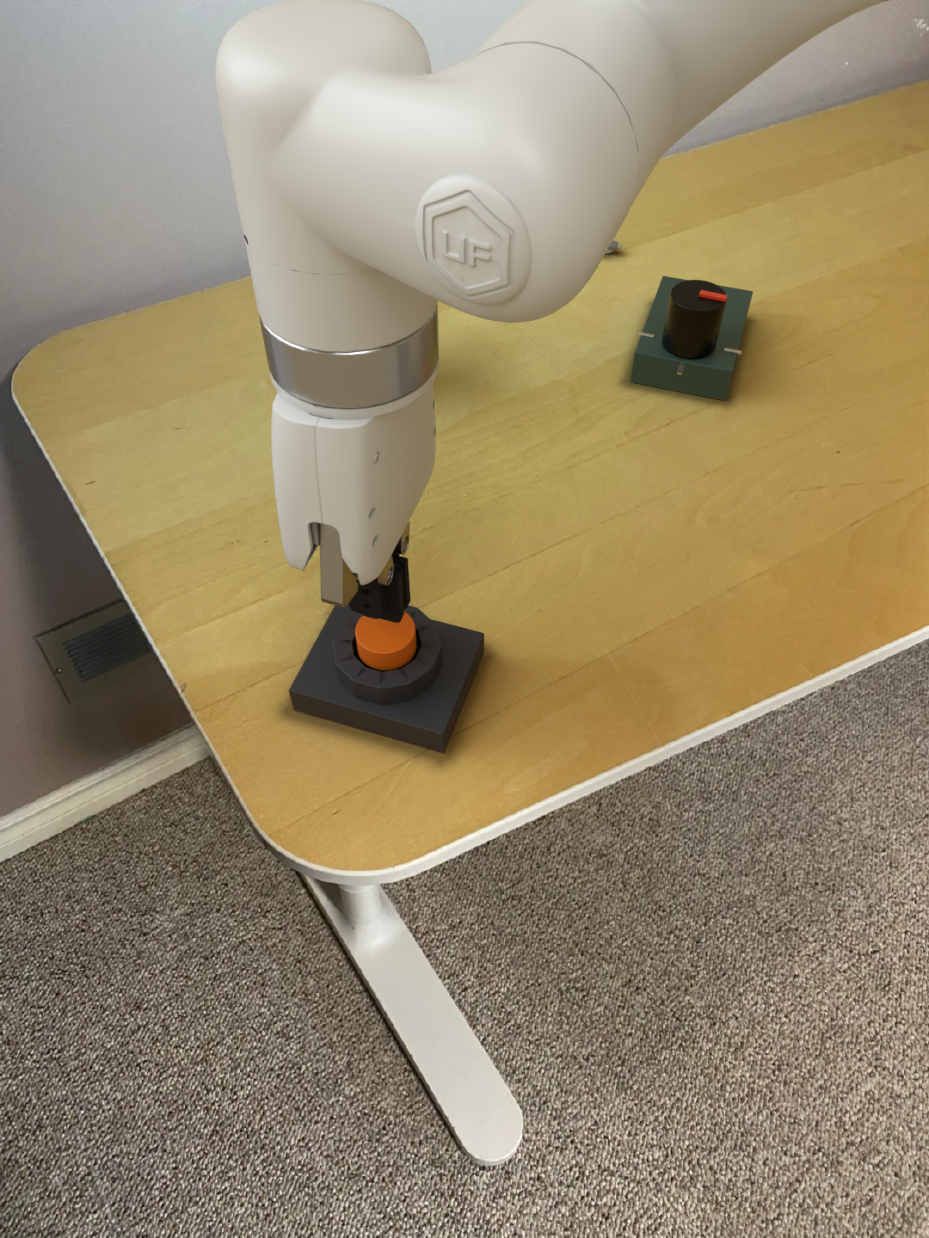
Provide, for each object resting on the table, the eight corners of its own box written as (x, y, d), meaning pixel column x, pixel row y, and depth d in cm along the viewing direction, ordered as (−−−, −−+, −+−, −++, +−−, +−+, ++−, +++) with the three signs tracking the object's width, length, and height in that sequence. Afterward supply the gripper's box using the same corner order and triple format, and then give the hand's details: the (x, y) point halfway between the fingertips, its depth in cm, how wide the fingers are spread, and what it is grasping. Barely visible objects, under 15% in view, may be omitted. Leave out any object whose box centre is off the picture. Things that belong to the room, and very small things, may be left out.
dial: (656, 353, 78) (665, 300, 75) (668, 323, 81) (678, 271, 77) (709, 364, 77) (721, 312, 74) (720, 334, 80) (733, 282, 76)
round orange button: (424, 632, 59) (423, 614, 58) (404, 677, 57) (402, 659, 56) (370, 618, 60) (368, 600, 59) (348, 662, 58) (345, 644, 57)
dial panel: (654, 304, 88) (659, 273, 86) (749, 321, 86) (757, 289, 84) (621, 394, 80) (626, 362, 77) (725, 415, 78) (733, 383, 76)
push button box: (484, 653, 63) (484, 614, 60) (444, 753, 58) (442, 717, 55) (343, 616, 65) (336, 577, 62) (293, 710, 60) (283, 673, 57)
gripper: (339, 237, 47) (368, 507, 61) (190, 426, 38) (265, 691, 52) (486, 263, 45) (481, 534, 60) (367, 467, 36) (394, 728, 51)
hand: (380, 607), depth 56 cm, fingers closed
